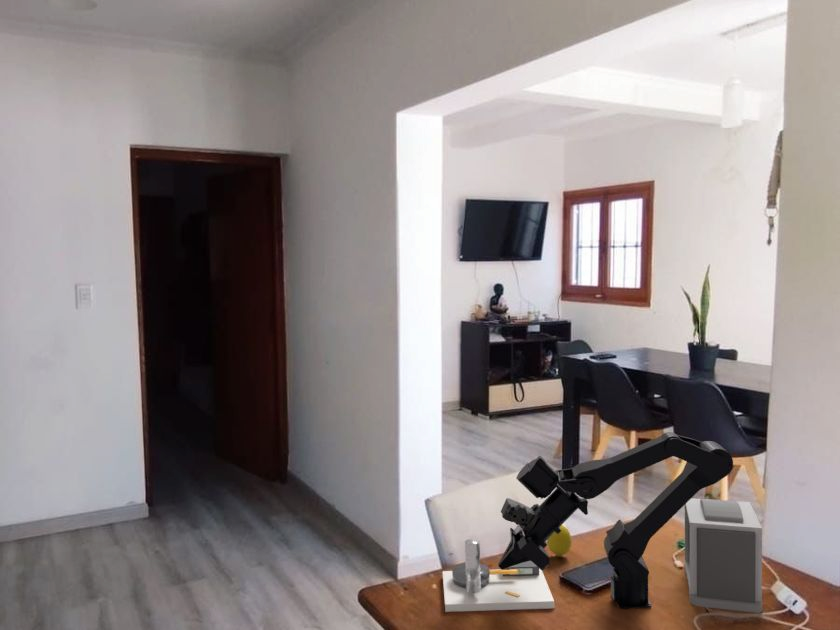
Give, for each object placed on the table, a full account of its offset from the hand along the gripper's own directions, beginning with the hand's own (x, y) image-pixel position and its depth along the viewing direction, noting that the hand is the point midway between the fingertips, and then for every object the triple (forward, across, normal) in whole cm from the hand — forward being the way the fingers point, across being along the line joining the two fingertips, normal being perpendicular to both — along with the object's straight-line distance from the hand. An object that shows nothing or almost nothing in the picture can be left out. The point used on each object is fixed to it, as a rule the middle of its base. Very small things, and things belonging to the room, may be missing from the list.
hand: (499, 567), depth 140 cm
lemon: (-6, -20, +17) cm, 27 cm away
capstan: (+6, -4, +2) cm, 7 cm away
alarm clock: (-28, -2, +38) cm, 47 cm away
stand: (+6, -4, +5) cm, 8 cm away
